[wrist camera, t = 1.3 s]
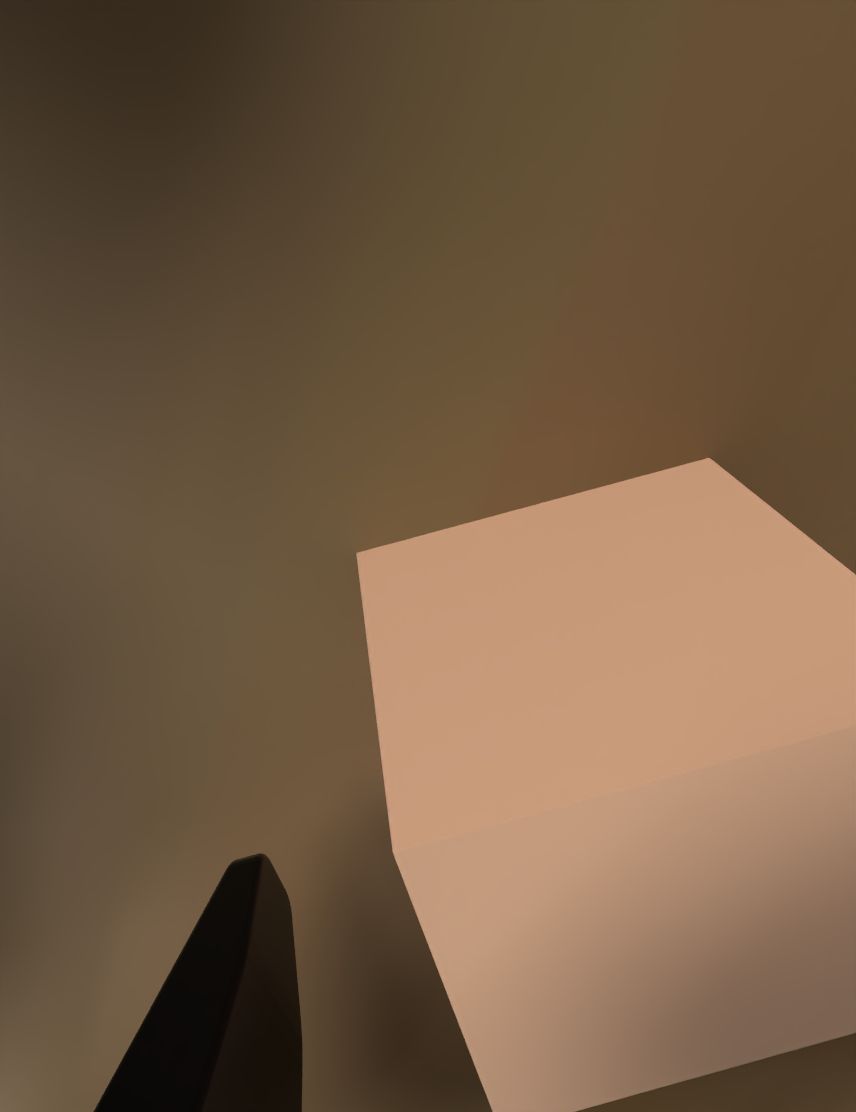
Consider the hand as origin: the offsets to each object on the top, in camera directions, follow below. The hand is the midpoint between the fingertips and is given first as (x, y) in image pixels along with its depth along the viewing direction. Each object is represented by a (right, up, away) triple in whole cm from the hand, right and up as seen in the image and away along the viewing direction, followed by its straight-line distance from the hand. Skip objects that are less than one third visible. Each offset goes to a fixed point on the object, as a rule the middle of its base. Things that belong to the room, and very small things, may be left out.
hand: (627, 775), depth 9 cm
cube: (0, +1, +2) cm, 3 cm away
